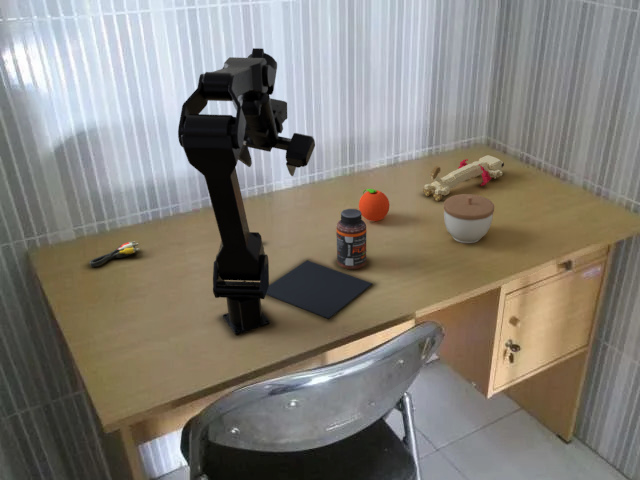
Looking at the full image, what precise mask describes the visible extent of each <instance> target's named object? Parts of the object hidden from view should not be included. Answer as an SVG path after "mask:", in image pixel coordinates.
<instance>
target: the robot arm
mask: <svg viewBox="0 0 640 480" xmlns="http://www.w3.org/2000/svg"><path fill="white" fill-rule="evenodd" d="M277 71H278V62H277V60H276V59H274V57H273V56H271V55H270V54H268V53H266V52H265V50H264V48H261V47H260V48H259V47H258V48H256V47H255V48H254V47H253V48H252V50H251V53H250V54H249V55H247V57H233V56H231V57H228V58H227V59H226V60H225V61H224V63H223V67H222V68H221V69H216V70H214V71H205V72H204V73H200V75H199V78H198V83H197V88H196V89H195V90H194V92H192V93H191V95H190V96H189V97H188V98H187V99H186V100H185V101H184V102H183V104H182V106H181V110H180V118H179V123H178V127H177V128H178V129H177V137H178V142H179V145H180V146H181V148H183V151H184V154H185V156H186V159H187V162H188V164H189V165H191V167H193V168H194V169H195V170H196V171H198V172H199V173H200V174H201V175H203V177H204V180H205V184H206V187H207V188H206V189H207V191H208V195H209V199H210V203H211V206H212V210H213V214H214V217H215V222H216V226H217V228H218V233H219V236H220V240H221V241H220V244H219V247H218V251H217V254H216V256H215V259H214V261H213V271H212V294H213V295H214V298H215V299H219V298H221V299H222V298H224V299H226V307H227V311H228V312H227V313H224V314H222V319H223V320H224V322H225V323H226V324H227V325H228V327H229V328H230V330H231V331H232V332H233V334H234V335H241V334H244V333H248V332H252V331H253V330H256V329H259V328H262V327H265V326H269V325H270V324H271V320H270V319H269V318H268V317H267V315H266V314H265V313H264V312H263V309H262V300H265V299H266V296H267V295H266V293H267V290H268V287H269V285H270V270H269V269H270V265H269V263H270V262H269V256H268V254H266V252H265V247H264V244H263V239H262V235H261V233H259V232H257V231H256V232H255V231H250V227H249V223H248V217H247V214H246V210H245V205H244V200H243V195H242V191H241V186H240V182H239V181H240V180H239V177H238V173H237V168H236V167H237V166H238V161H240V162H241V163H242V164H244V165H245V166H246V167H248V168H251V167H252V164H253V162H252V157H251V153H250V149H255V150H259V151H264V152H269V153H271V151H272V149H278V150H283V151H285V161H286V162H285V165H286V168H287V171H288V173H289V175H290V176H291V177H294V175H295V172H296V169H297V168H298V169H299V168H304V167H306V166H308V164H309V162H310V160H311V157H312V155H313V152H314V149H315V147H316V142H315V138H314V136H313V135H308V134H303V133H298V132H294V133H293V134H292V136H291V138H290V137H285V136H279V134H282V132H283V130H284V126H283V124H284V122H285V121H286V120H288V102H287V101H286V100H281V99H275V98H271V96H272V95H273V93H274V90H275V84H276V78H277ZM208 102H232V105H233V107H234V109H235V111H236V114H235V116H234V115H232V114H207V113H206V114H205V113H201V112H202V111H203V110H204V109H205V108H206V107H207V105H208V104H209V103H208ZM249 148H250V149H249Z"/></svg>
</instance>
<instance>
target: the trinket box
mask: <svg viewBox="0 0 640 480" xmlns="http://www.w3.org/2000/svg"><path fill="white" fill-rule="evenodd" d="M494 212H495V204H494V203H493V201H492V200H490V199H489V198H487V197H485V196H482V195H479V194H471V193H470V194H469V193H461V194H455V195H452V196H449V197H447V198H446V199H445V200H444V201H443V219H444V220H443V221H444V226H445V228H446V230H447V233H448V234H449V235H450V236H451V237H452V238H453V240H454V241H456V242H458V243H461V244H474V243H477V242H479V241H481V239H482V238H483V237H485V236H486V235H487V233H488V232H489V230H490V228H491V226H492V224H493V223H492V222H493V218H494Z"/></svg>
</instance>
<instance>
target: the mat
mask: <svg viewBox="0 0 640 480" xmlns="http://www.w3.org/2000/svg"><path fill="white" fill-rule="evenodd" d="M371 286H373V283H372V282H369V281H367V280H364V279H361V278H359V277H356V276H353V275H351V274H347V273H344V272H341V271H338V270H335V269H333V268H331V267H327V266H325V265H321V264H319V263H317V262H313V261H310V260H305V261H303V262H302V263H301V264H299V265H297V266H296V267H294V268H293V269H292V270H290V271H289V272H287V273H285V274H284V275H283V276H281V277H280V278H278V279H276V280H275V281H274V282H271V283H270V284H269V287H268V290H267V293H266V296H268V297H271V298H273V299H276V300H279V301H282V302H284V303H286V304H289V305H291V306H294V307H296V308H299V309H301V310H304V311H306V312H308V313H311V314H314V315H317V316H320V317H322V318H324V319H327V320H330V319H331V318H332V317H333V316H335V315H336V314H337V313H339V312H340V311H341V310H342V309H344V308H345V307H347V305H349V304H350V303H351V302H353V301H354V300H355V299H356V298H358V297H359V296H360V295H362V294H363V293H364V292H365V291H366V290H368V289H369V288H370V287H371Z"/></svg>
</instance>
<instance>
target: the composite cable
mask: <svg viewBox="0 0 640 480" xmlns="http://www.w3.org/2000/svg"><path fill="white" fill-rule="evenodd" d="M135 242H136V241H135V240H134V241H127V242H125V243H123V244H121V245H119V246H118V247H117V248H115V249H114V250H113V251H110V253H106V254H103V255H101V256H97V257H95V258H93V259H91V260H90V261H89V265H90V267H98V266H100V265H102V264H103V263H104V264H105V262H107V261H109V260H112V259H117V258H118V259H121V258H122V259H123V258H126V257H130V256H132V255H133V254H134V253H136V252H138V251H140V250H141V249H140V248H135V247H136V246H137V247H138V246H139V243H138V242H137V243H135Z"/></svg>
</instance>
